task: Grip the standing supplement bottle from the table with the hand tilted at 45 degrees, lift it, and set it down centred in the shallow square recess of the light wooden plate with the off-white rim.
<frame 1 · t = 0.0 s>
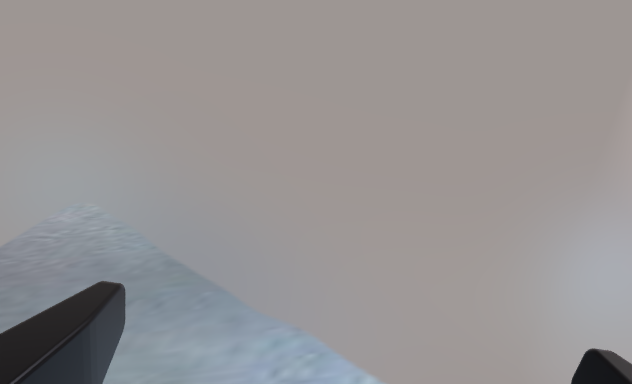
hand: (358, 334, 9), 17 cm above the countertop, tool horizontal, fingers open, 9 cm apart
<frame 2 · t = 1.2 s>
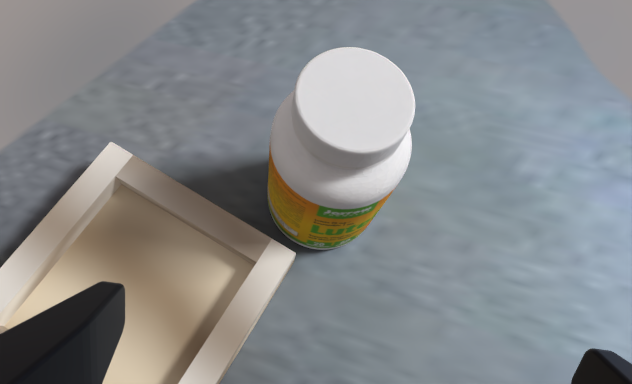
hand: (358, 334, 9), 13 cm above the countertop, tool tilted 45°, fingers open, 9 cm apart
recess plate: (141, 298, 22), on the countertop
supplement bottle: (319, 201, 25), on the countertop
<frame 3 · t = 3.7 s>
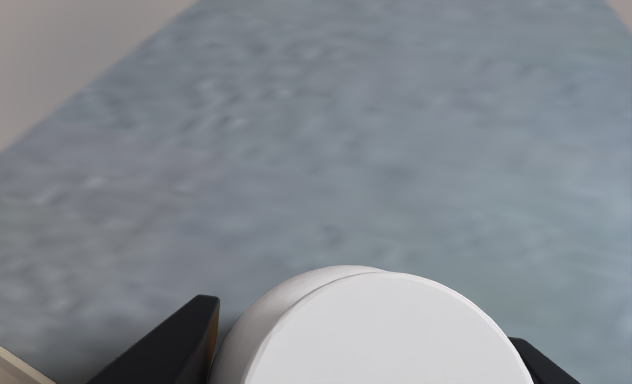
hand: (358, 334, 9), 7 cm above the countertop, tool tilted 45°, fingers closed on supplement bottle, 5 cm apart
when the fingers open (9 cm above the countertop, at t = 7.3 s): supplement bottle stays where it is, resting on recess plate.
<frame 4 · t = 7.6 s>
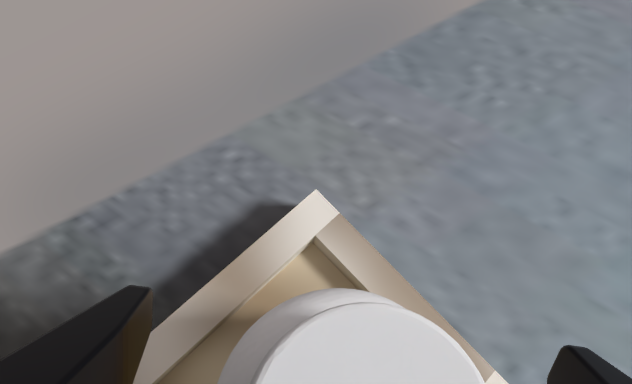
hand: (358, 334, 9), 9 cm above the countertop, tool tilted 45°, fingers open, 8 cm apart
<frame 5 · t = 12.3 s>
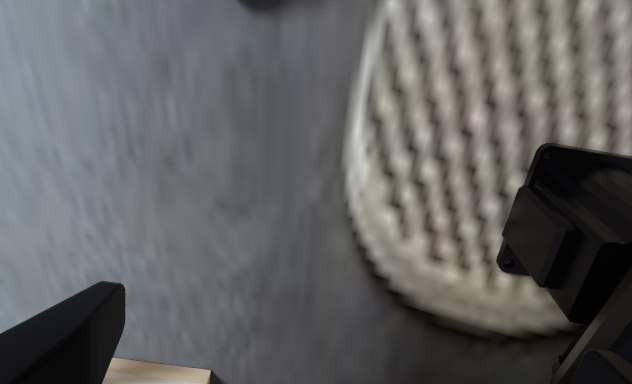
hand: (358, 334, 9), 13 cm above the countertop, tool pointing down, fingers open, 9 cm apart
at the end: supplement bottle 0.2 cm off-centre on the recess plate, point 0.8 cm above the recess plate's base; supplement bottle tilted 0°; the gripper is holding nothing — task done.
